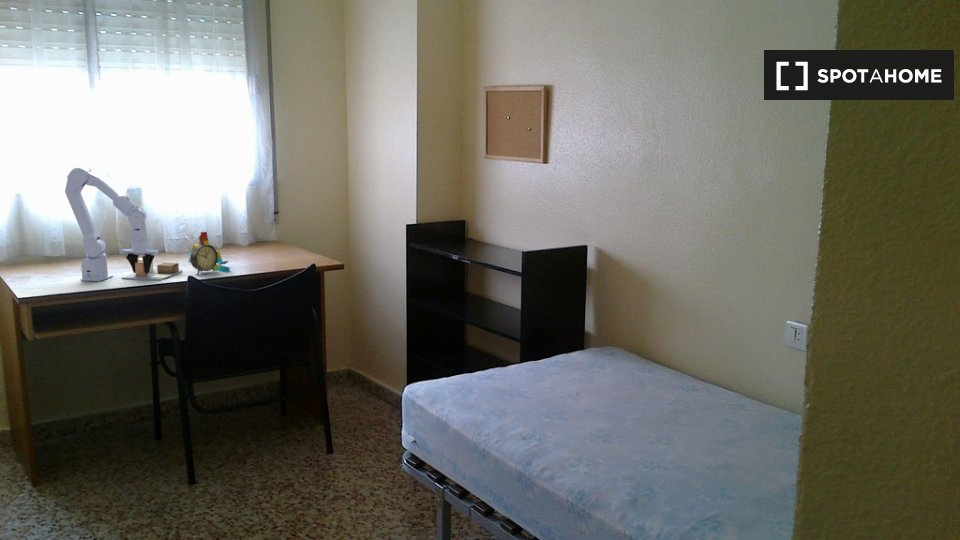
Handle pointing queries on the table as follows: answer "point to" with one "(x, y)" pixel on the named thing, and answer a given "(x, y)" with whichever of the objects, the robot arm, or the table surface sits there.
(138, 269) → the terracotta round block
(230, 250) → the table surface
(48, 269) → the table surface
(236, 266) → the table surface
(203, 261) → the alarm clock
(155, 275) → the building board
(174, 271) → the walnut base block
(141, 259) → the cream block
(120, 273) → the table surface
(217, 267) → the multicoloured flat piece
